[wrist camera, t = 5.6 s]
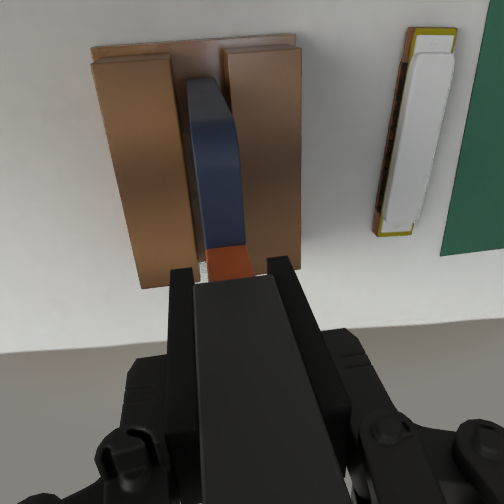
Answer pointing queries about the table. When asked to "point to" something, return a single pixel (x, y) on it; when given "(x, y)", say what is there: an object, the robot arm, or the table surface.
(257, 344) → the racket
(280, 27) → the table surface
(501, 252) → the table surface
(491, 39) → the mat
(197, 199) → the stand
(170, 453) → the robot arm
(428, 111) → the harmonica
